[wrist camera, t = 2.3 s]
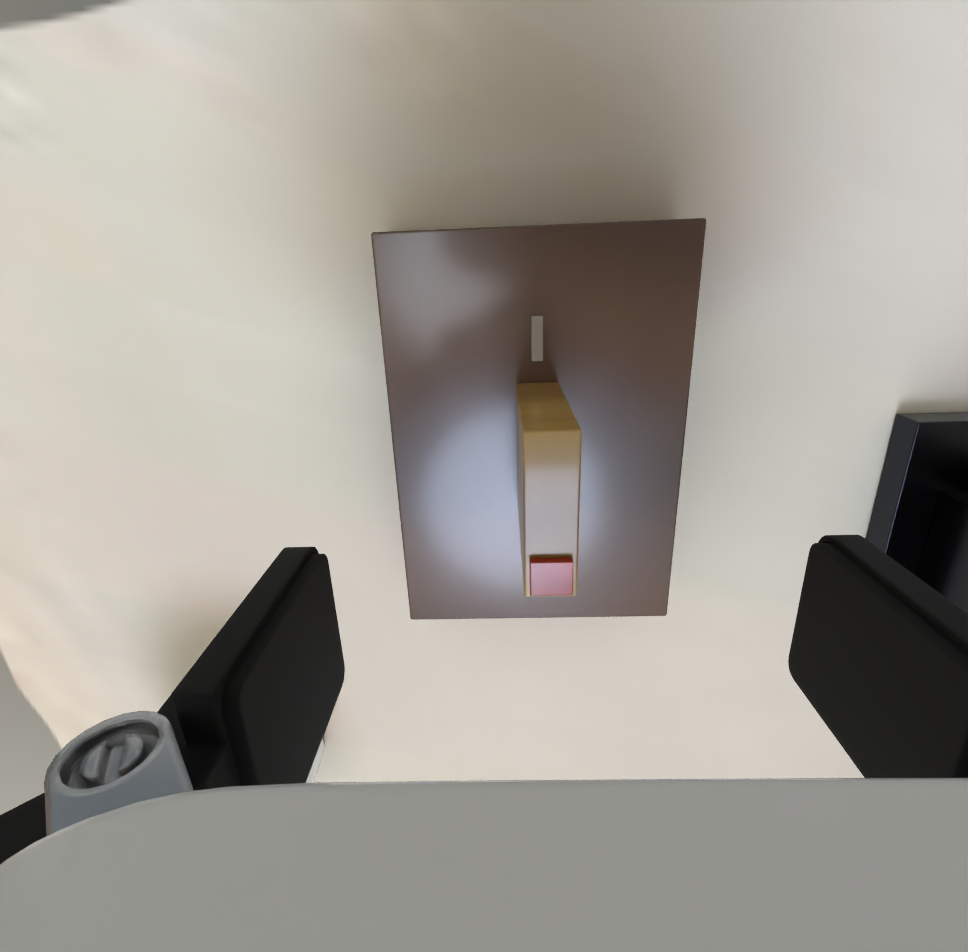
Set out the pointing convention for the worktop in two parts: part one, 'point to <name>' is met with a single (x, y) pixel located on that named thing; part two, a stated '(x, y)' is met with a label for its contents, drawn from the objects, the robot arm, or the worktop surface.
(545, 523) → the tall mustard panel
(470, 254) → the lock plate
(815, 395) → the worktop surface
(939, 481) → the handle bracket
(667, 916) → the robot arm
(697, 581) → the worktop surface
